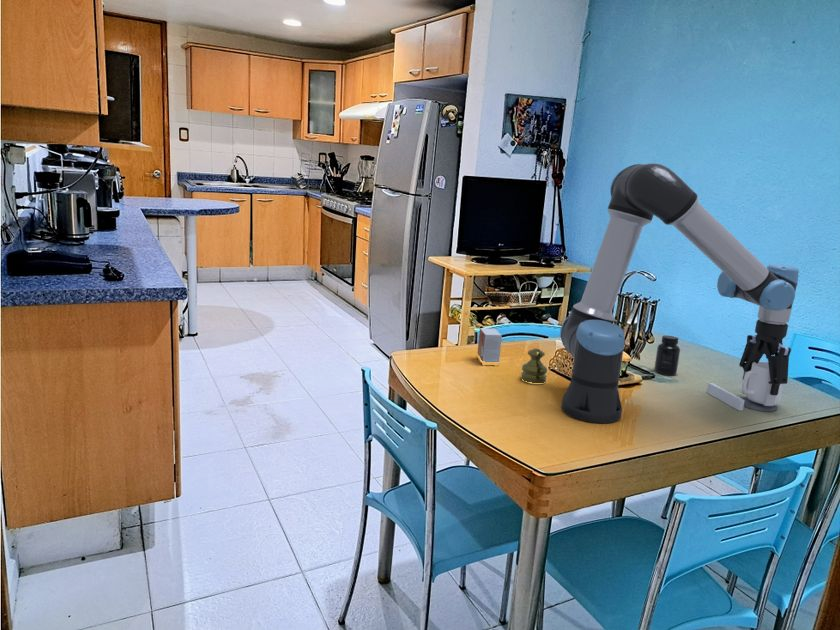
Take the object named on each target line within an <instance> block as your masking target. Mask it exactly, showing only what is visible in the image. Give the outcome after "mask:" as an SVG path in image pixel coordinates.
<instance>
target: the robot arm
mask: <svg viewBox="0 0 840 630" xmlns="http://www.w3.org/2000/svg"><path fill="white" fill-rule="evenodd" d="M610 183H611V185H610V187H609V190H610V191H609V192H610V202H609V204H608V206H607V213H608V215H609V216H610V219H609V221H608V223H607V224H608V225H607V226H606V229H605V232H604V235H603V238H602V241H601V244H600V246H599V249H598V253H597V254H596V258H595V261H594V263H593V266H592V269H591V272H590V275H589V278H588V280H587V282H586V286H585V287H584V288H585V289H584V291H583V294H582V298H581V300H580V301H579V302H577V303H575V304H573V306H572V308H571V312H570V315H568V316H567V317H566V318H565V319H564V320H563V322H562V324H561V326H560V331H559V333H560V334H559V336H560V340H561V342H562V345H563V347H564V349H565V350H566V351H567V352H568V353H569V354H570V355H571V356H572V357H573V364H572V373H571V379H570V383H569V385H568V387H567V389H566V391H565V393H564V395H563V397H562V400H561V405H560V408H561V411H563V413H565V414H566V415H567V416H569V417H571V418H573V419H575V420H579V421H583V422H588V423H596V424H611V423H615V422H618V421H619V420H621V418H622V414H623V407H622V401H621V397H620V393H619V392H620V391H619V381H620V375H621V374H620V373H621V368H622V362H623V361H622V360H623V354H624V348H625V346H626V345H625V343H626V342H625V337H626V334H625V331H624V330H623V329H622V328H621V327H620V326H619V325H617V324H616V323H615V320H616V319H615V316H614V314H613V309H614V306H615V303H616V300H617V297H618V295H619V292H620V289H621V287H622V284H623V281H624V279H625V276H626V274H627V271H628V268H629V265H630V262H631V260H632V258H633V254H634V252H635V249H636V245H637V244H638V240H639V239H640V235H641V232H642V231H643V227H644V226H647V225H648V224H651V223H652V220H653V218H654V216H655V217H656V218H657V219H659V220H660V221H662V223H664V225H666V226H673V227H674V228H675V229H676V230H678V232H680V233H681V234H682V235H683V236H684V237H685V238H686V239H687V240H688V241H690V243H692V244H693V245H694V246H695V248H697V249H698V250H699V251H700V252H701V253H702V254H703V255H704V256H706V258H708V259H709V260H710V261H711V262H712V263H713V264H714V265H716V267H717V268H718V269H719V270H721V273H719V275H718V278H717V283H716V286H717V287H716V288H717V291H718V294H720V296H722V297H725V298H730V299H734V298H736V299H741V300H743V301H746V302H749V303H752V304H753V305H757V306H759V307H758V311H757V315H756V316H757V318H758V319H757V320H756V322H755V329H754V332H755V334H756V335H754V334H753V335H752V334H748V335H747V336H746V344H745V347H744V350H743V353H742V356H741V359H740V362H739V367H740V368H742V370H743V375H742V380H743V379H744V377H745V375H746V373H747V372H748V371H751V368H752V363H753V362H756V364H758V362H759V361H761V359H762V357H763V356H764V355H765V358H766V360H767V362H768V364H769V372H770V380H771V382H768V384H767V389H766V394H765V399H764V404H763V405H765V406H774V403H775V398H776V395H777V394H778V390H779V386H780V384H783V385H786V384H788V381H789V380H788V379H789V378H788V377H789V365H790V364H789V361H790V355H791V352H792V348H791V347H786V346H784V344H783V343H784V342H783V339H784V338H786V337H787V333H788V327H789V325H788V323H789V322H790V320H791V319H790V317H791V314H792V309H793V304H794V300H795V299H796V290H797V286H798V282H799V268H797V267H796V266H793V265H788V264H778V263H771V264H768V265H767V266H766V265H764V264H763V263H762V261H760V260H759V259H758V258H757V257H756V256H755V255H754V254H753V253H752V252H751V251H750V250H749V249H748V248H747V247H745V246H744V245H743V244H742V243H741V242H740V241H739V240H738V238H737V237H735V236H734V235H733V234H732V233H731V232H730V231H729V230H728V229H727V228H726V227H724V225H723V224H721V222H719V221H718V219H716V218H715V216H713V215H712V214H711V213H710V212H709V211H708V210H707V209H706V208H705V207H704V206H703V205H702V204H700V203H699V196H698V194H697V193H696V192H695V191H694V190H693V189H692V188H691V187H690V186H689V185H688V184H687V183H685V182H684V180H683V179H682V178H680V176H678V175H677V174H676V173H675V172H674V171H673V170H671V169H670V168H669V167H668V166H665V165H662V164H661V163H660V164H659V163H645V164H643V163H638V164H631V165H629V166H626V167H625V168H623V169H621V170H619V171H618V172H617V173H616V175H615V176H614V177H613V179H612V182H610ZM749 378H750V377H749ZM749 378H748V381H747V386H746V388H748V383H749ZM775 378H776V379H775ZM740 391H741V392H740V394H742V395H746V394H745V393H744V392H743V390H742V389H741V390H740Z"/></svg>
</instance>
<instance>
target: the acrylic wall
mask: <svg viewBox="0 0 840 630" xmlns="http://www.w3.org/2000/svg"><path fill="white" fill-rule="evenodd" d="M706 393H707V394H709V395H710V396H712V397H714V398H716V399H718V400H720V401H721V402H722V403H724V404H726V405H727V406H730V407H731V408H734V410H736V411H742V412H743V411H744V401H745V400H743V399H741V398H740V397H739V396H738V395H736V394H734V393H732V392H730V391H728V390H726V389H724V388H722V387H721V386H719V385H717V384H715V383H713V382H707V388H706Z"/></svg>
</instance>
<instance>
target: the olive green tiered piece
mask: <svg viewBox="0 0 840 630" xmlns="http://www.w3.org/2000/svg"><path fill="white" fill-rule="evenodd" d="M527 354H528V355H529V357H530V360H529V361H527V362H526V363H523V364H522V366H521V369H522V372H521V373H520V374H521V375H520V379H521V378H522V379H523V380H524V381H527V382H532V383H544V382H545V383H547V372H548V367H547V366H546V365H544V363H543V362H542V361H541V359H542V358H543V357H545V355H546V353H545V352H544V351H543V350H541V349H540V348H532V349H530V350H528V351H527ZM545 383H544V384H545Z"/></svg>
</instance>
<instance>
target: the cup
mask: <svg viewBox="0 0 840 630" xmlns="http://www.w3.org/2000/svg"><path fill="white" fill-rule="evenodd" d="M749 377H750V378H749ZM748 378H749V383H748V388H746V386H747V381H748ZM775 379H776V378H775ZM768 382H771V380H770V372H769V364H768V361H761V360H760V361H759V362H758V364H756V362H753V363H752V368H751V371H748V372H747V373H746V375H745V377H744V379H743V378H742V383H741V391H742V390H743V392H744V393H745V394H744V395H745V396H746V397H747V398H748V399H750V400H751V401H754V402H757V403H761V404H764V399H765V394H766V389H767V384H768ZM783 387H784V384H780V386H779V390H778V394H777V395H776V398H775V403H774V405H775V406H776V405H778V404H779V403H780V401H781V397H782V392H783V389H784V388H783Z"/></svg>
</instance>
